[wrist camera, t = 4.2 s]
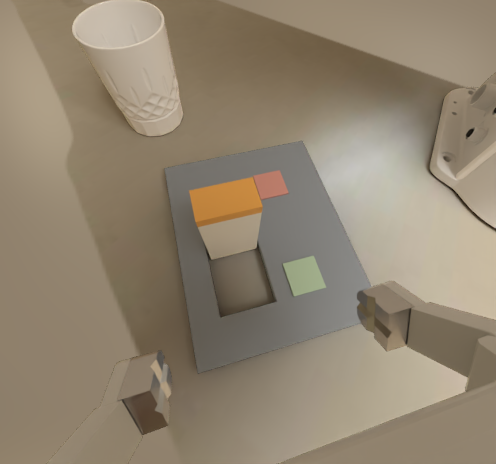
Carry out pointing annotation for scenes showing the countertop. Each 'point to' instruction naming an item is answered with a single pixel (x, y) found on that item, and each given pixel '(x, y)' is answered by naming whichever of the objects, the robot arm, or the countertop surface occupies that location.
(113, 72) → the white cup
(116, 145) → the countertop surface
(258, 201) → the handle
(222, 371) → the countertop surface
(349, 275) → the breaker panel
